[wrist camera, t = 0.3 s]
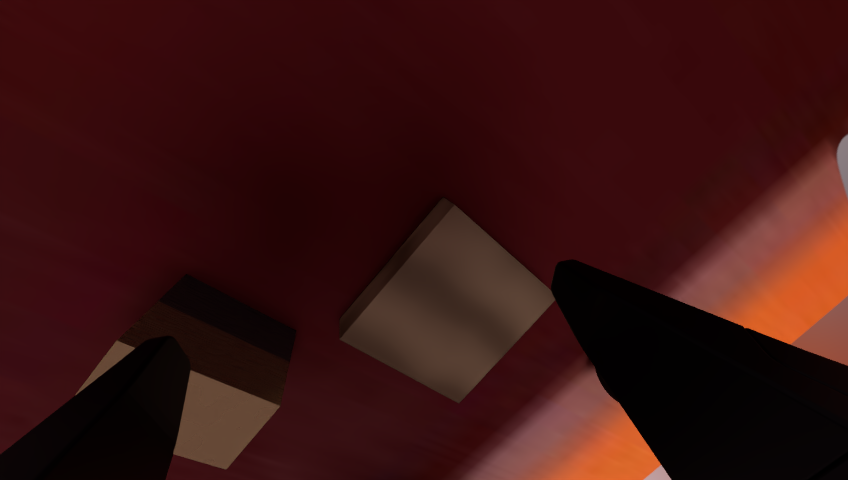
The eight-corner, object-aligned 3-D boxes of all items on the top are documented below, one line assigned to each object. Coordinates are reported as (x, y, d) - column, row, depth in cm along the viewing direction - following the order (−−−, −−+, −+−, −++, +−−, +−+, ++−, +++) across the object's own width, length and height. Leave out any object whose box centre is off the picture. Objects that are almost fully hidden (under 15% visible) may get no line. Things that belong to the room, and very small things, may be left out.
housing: (256, 378, 24) (225, 469, 18) (143, 330, 21) (56, 419, 14) (296, 330, 24) (280, 406, 17) (186, 273, 20) (116, 340, 14)
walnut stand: (449, 381, 29) (458, 403, 26) (339, 319, 24) (339, 339, 22) (539, 282, 28) (558, 296, 25) (443, 196, 23) (454, 204, 21)
